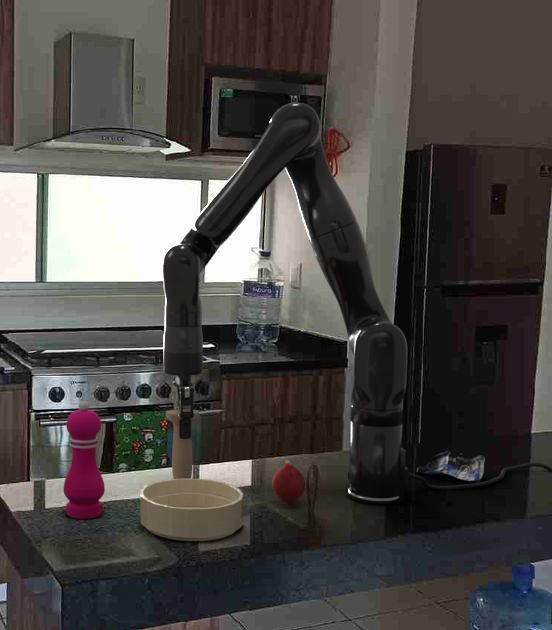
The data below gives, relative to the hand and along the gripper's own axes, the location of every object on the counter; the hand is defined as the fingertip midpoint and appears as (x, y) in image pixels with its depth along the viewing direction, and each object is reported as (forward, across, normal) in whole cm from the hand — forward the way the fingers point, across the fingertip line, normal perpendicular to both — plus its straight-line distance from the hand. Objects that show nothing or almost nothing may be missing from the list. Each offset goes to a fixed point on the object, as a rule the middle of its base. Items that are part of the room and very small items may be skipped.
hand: (182, 434), depth 159 cm
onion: (+11, -11, -18) cm, 24 cm away
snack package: (+11, +5, -55) cm, 56 cm away
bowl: (+11, -21, +1) cm, 24 cm away
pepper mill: (+11, -14, +19) cm, 26 cm away
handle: (+11, 0, 0) cm, 11 cm away
